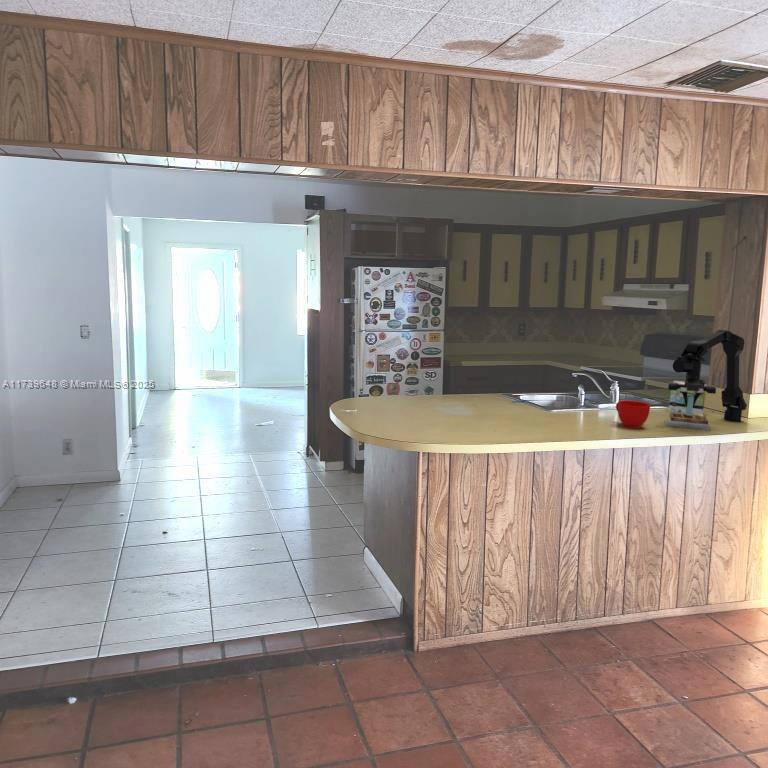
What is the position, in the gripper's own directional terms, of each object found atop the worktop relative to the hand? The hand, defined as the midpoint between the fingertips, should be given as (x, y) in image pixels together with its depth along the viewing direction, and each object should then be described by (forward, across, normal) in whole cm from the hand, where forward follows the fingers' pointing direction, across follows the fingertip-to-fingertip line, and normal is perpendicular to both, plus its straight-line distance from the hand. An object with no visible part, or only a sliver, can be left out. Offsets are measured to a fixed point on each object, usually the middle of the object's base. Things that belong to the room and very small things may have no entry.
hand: (689, 407), depth 291 cm
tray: (+9, +1, +13) cm, 16 cm away
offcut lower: (+8, +5, +13) cm, 16 cm away
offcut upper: (+6, +6, +13) cm, 15 cm away
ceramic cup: (+9, -24, -11) cm, 28 cm away
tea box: (+9, +2, +34) cm, 35 cm away
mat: (+9, 0, 0) cm, 9 cm away
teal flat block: (+3, 0, 0) cm, 3 cm away
